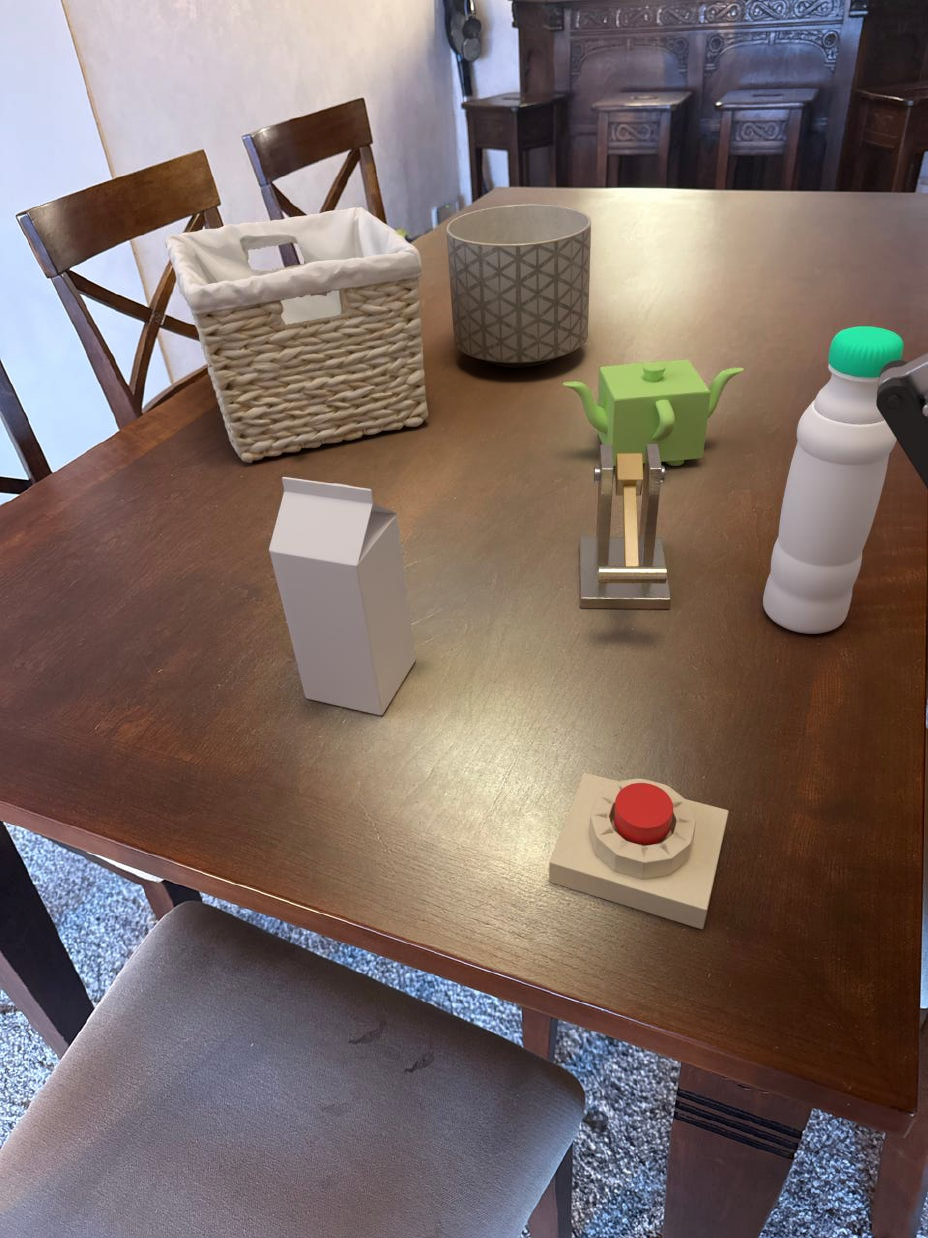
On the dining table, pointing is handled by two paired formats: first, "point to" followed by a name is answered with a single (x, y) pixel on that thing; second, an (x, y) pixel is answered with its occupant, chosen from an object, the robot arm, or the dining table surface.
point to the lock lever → (630, 527)
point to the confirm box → (640, 854)
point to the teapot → (653, 408)
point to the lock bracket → (612, 548)
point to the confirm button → (643, 813)
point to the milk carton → (343, 593)
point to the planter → (519, 282)
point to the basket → (307, 329)
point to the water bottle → (832, 487)
